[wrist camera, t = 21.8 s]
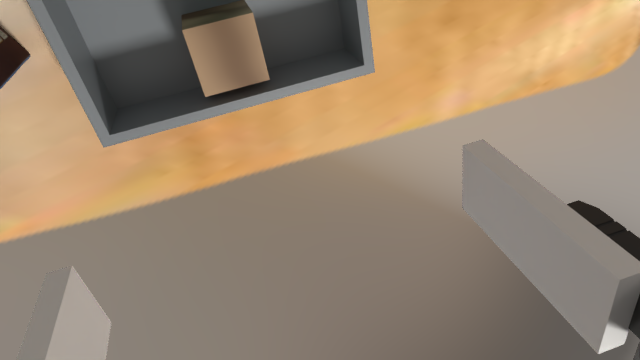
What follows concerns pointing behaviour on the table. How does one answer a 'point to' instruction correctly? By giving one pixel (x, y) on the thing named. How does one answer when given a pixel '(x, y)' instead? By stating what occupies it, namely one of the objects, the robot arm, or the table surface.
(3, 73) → the protein box
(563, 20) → the table surface
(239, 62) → the walnut cube
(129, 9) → the tote
